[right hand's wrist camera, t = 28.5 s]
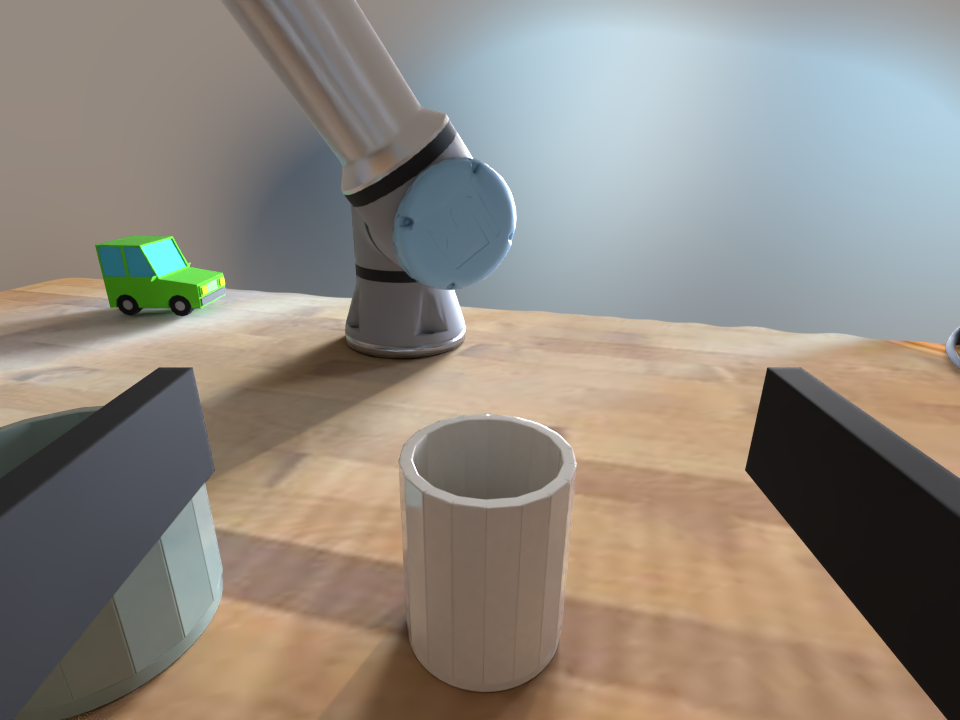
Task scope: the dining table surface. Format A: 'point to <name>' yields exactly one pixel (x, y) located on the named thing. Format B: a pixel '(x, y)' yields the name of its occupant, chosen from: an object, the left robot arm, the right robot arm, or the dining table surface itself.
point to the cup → (485, 547)
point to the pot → (127, 597)
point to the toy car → (155, 276)
